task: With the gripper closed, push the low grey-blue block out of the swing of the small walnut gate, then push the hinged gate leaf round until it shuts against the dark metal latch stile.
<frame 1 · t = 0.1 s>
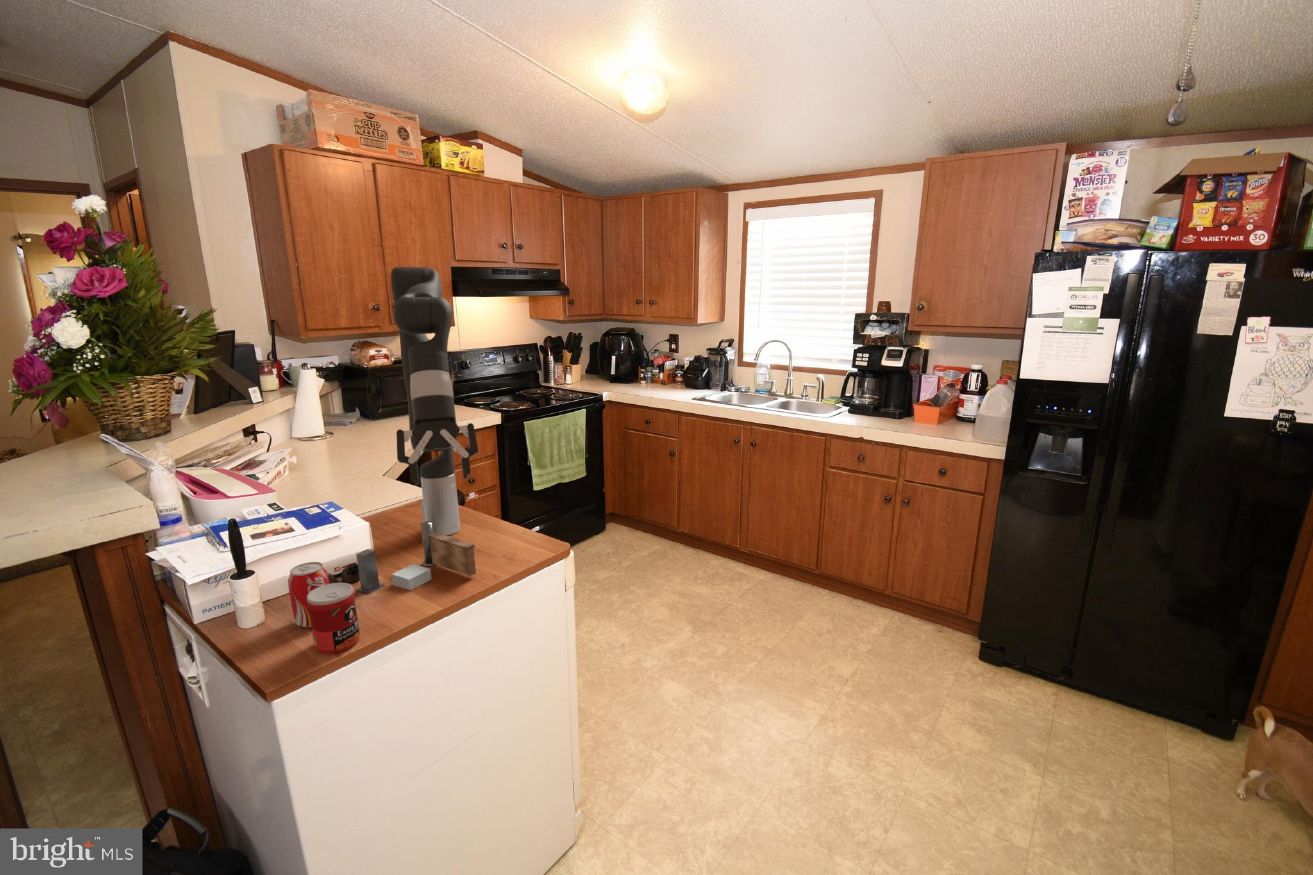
hand: (441, 481, 107), 31 cm above the counter, tool tilted 20°, fingers open, 8 cm apart
latch stile: (370, 588, 131), on the counter
block: (412, 583, 134), on the counter
canned food: (338, 644, 110), on the counter
soda can: (315, 621, 118), on the counter
hinge post: (430, 563, 144), on the counter
gate: (452, 554, 138), point 5 cm above the counter, hinge at 85.0°
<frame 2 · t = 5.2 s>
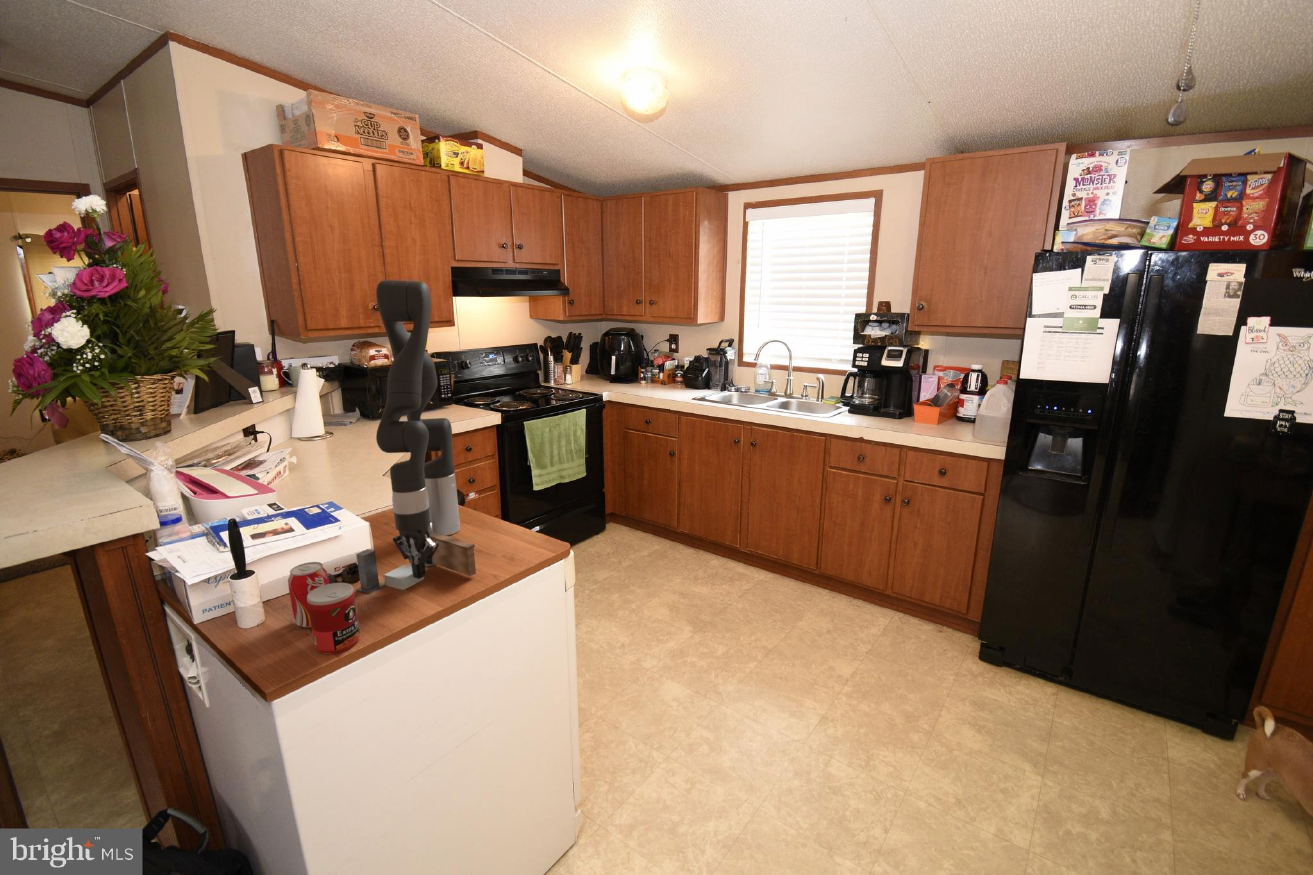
hand: (419, 576, 133), 2 cm above the counter, tool pointing down, fingers closed
block: (405, 583, 134), on the counter
everything else where it was.
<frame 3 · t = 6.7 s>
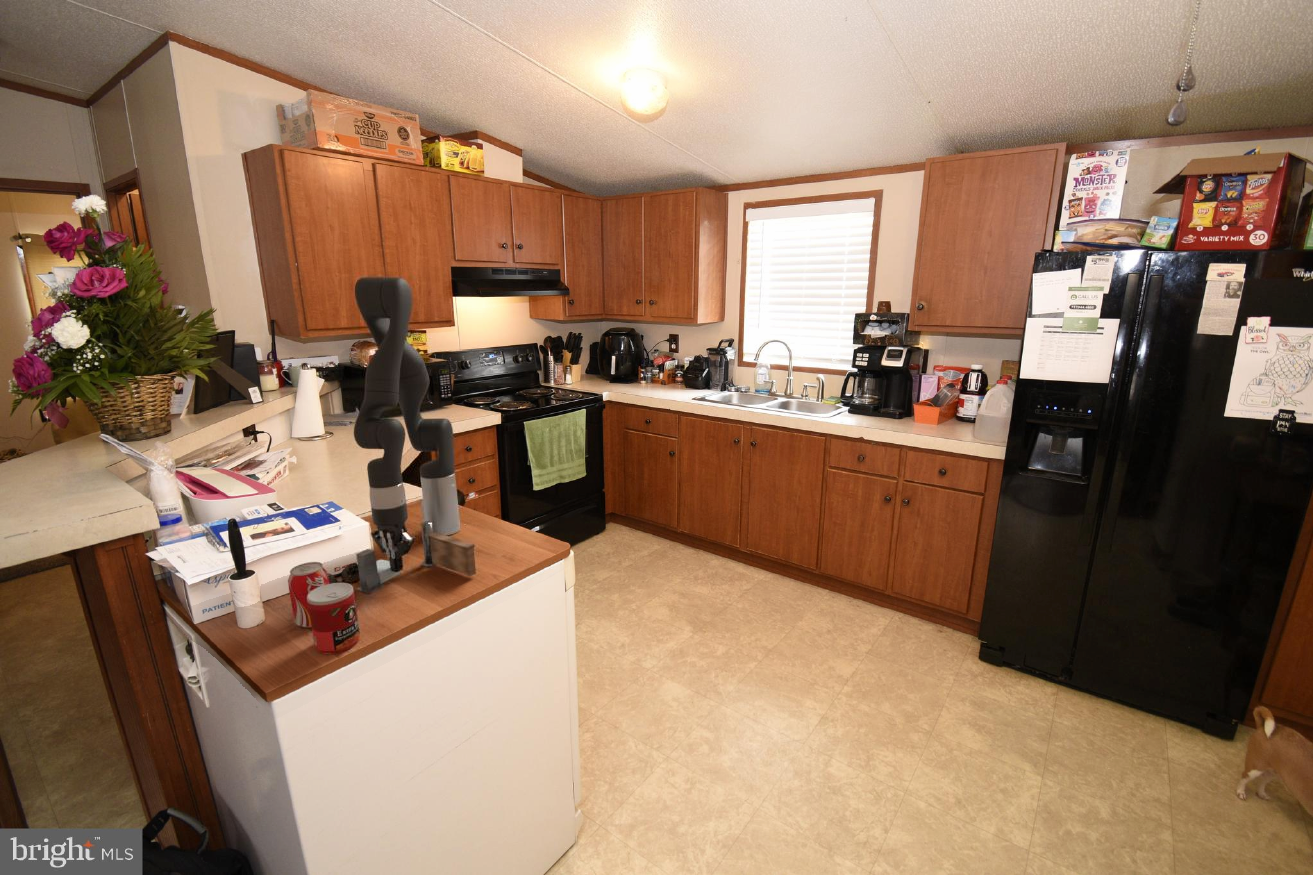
hand: (397, 570, 136), 2 cm above the counter, tool pointing down, fingers closed
block: (381, 577, 137), on the counter, touching gripper
everything else where it was.
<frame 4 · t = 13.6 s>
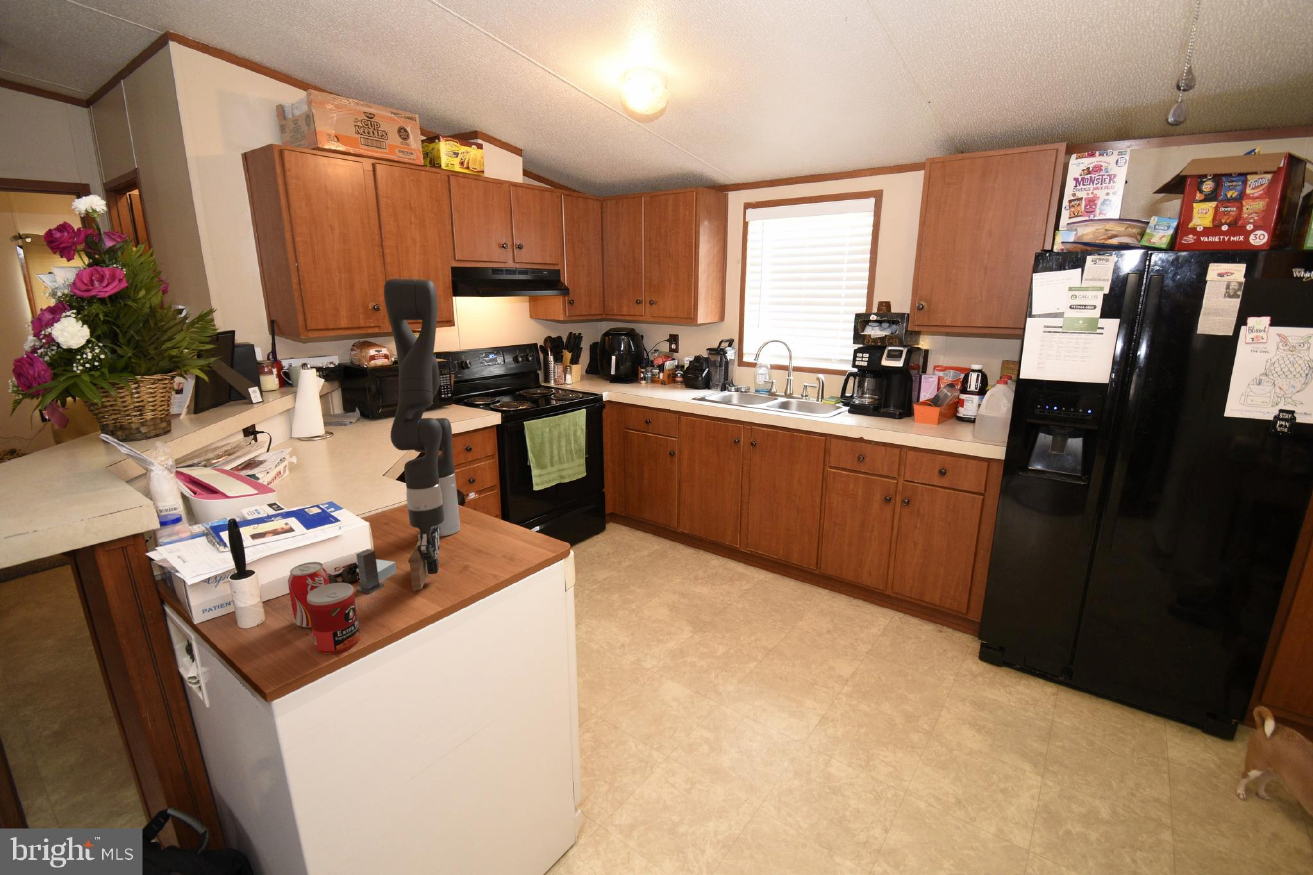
hand: (433, 572, 134), 2 cm above the counter, tool pointing down, fingers closed
block: (377, 577, 137), on the counter
gate: (421, 561, 134), point 5 cm above the counter, hinge at 38.3°, touching hand
everything else where it was.
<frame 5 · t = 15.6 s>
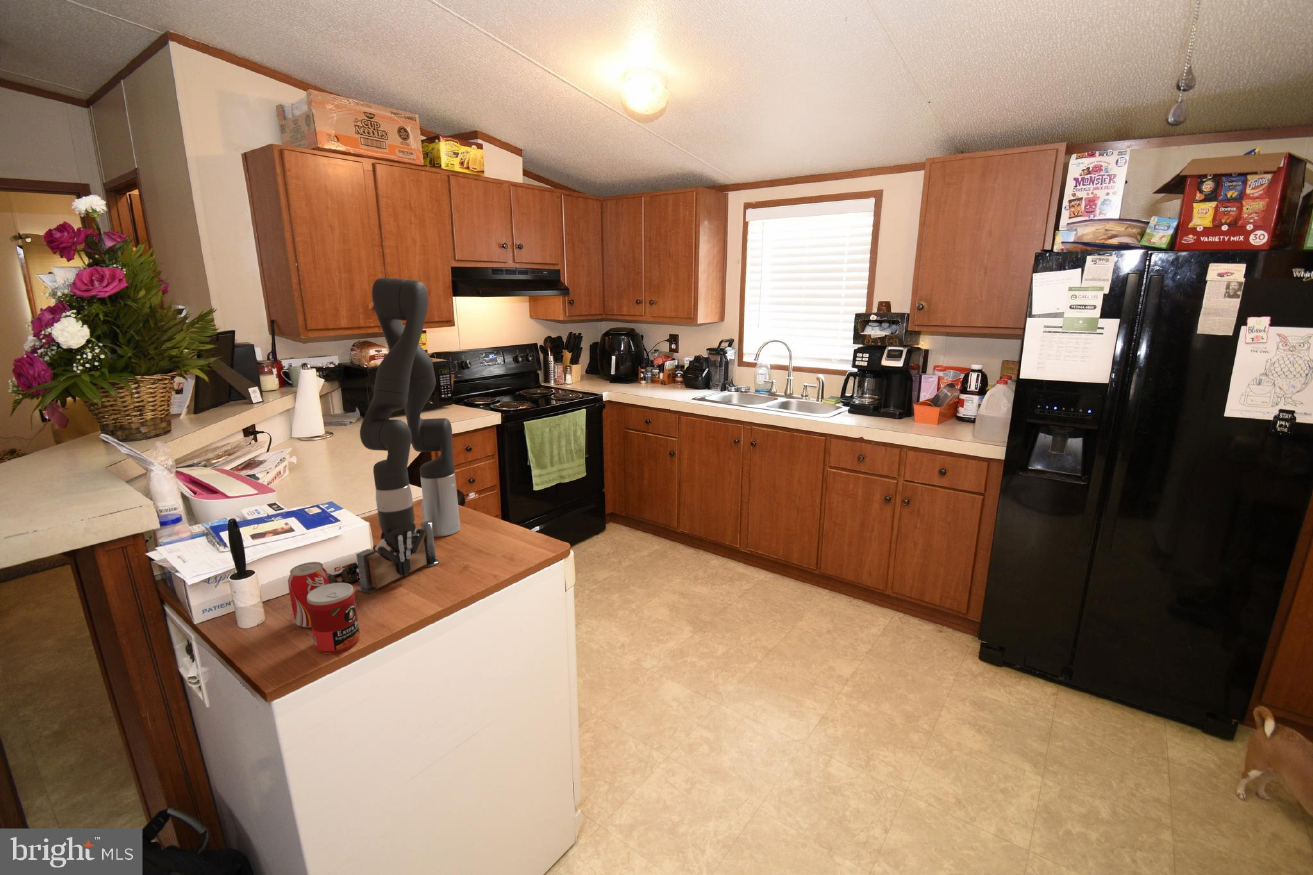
hand: (404, 574, 134), 2 cm above the counter, tool pointing down, fingers closed
gate: (398, 560, 135), point 5 cm above the counter, hinge at 0.4°, touching hand, latch stile
everything else where it was.
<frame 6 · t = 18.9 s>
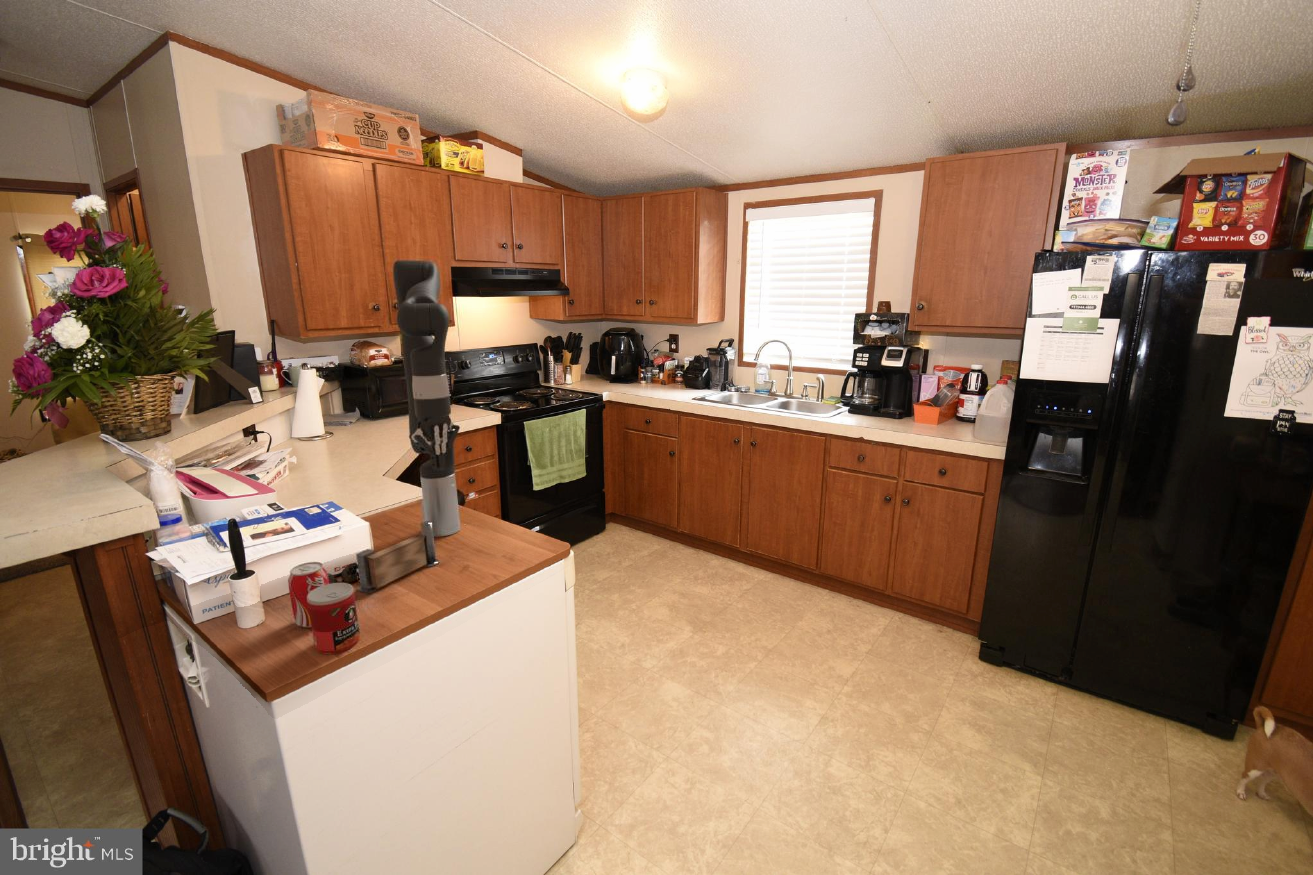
hand: (439, 469, 130), 27 cm above the counter, tool pointing down, fingers closed
gate: (398, 560, 135), point 5 cm above the counter, hinge at 0.4°, touching latch stile
everything else where it was.
at the end: gate at +0° (first picture: +85°); block inside the target area (3.4 cm from its centre), on the counter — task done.
